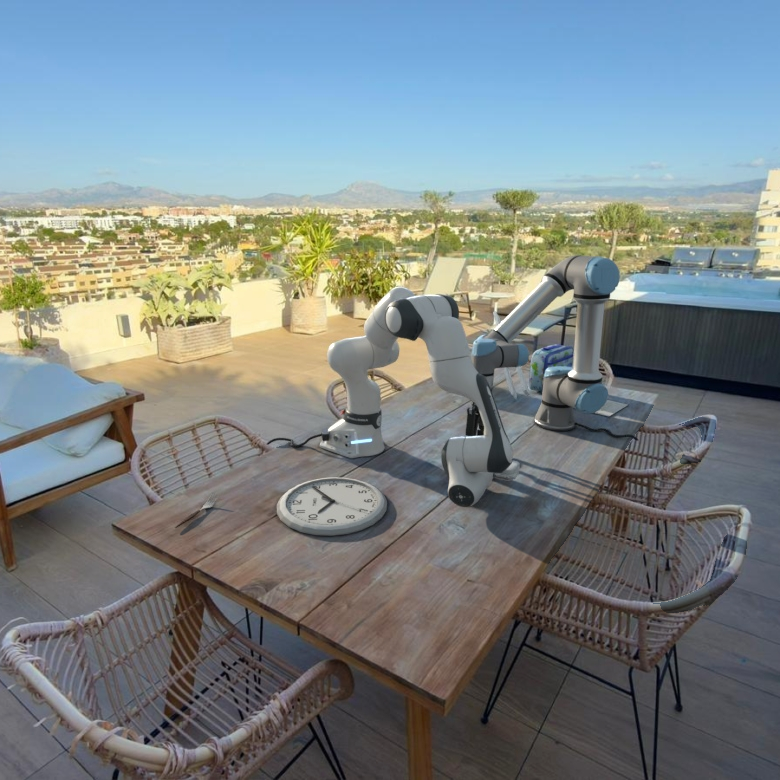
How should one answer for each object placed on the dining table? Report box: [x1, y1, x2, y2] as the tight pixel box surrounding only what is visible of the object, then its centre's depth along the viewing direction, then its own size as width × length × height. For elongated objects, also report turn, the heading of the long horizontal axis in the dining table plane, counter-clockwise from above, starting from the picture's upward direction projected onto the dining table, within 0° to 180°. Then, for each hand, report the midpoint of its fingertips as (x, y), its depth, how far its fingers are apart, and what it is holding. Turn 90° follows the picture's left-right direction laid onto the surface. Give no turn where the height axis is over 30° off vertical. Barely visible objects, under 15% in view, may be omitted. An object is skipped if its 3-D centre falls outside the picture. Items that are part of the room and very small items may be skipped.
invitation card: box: [594, 399, 629, 418], centre depth 226 cm, size 21×1×15 cm
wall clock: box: [276, 476, 388, 537], centre depth 142 cm, size 30×2×30 cm
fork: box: [174, 492, 220, 529], centre depth 137 cm, size 3×16×2 cm, turn 160°
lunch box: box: [528, 344, 574, 393], centre depth 247 cm, size 26×11×21 cm, turn 134°
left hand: (490, 454), depth 161 cm, fingers closed on jar, 5 cm apart
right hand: (475, 450), depth 179 cm, fingers closed on lid, 5 cm apart
